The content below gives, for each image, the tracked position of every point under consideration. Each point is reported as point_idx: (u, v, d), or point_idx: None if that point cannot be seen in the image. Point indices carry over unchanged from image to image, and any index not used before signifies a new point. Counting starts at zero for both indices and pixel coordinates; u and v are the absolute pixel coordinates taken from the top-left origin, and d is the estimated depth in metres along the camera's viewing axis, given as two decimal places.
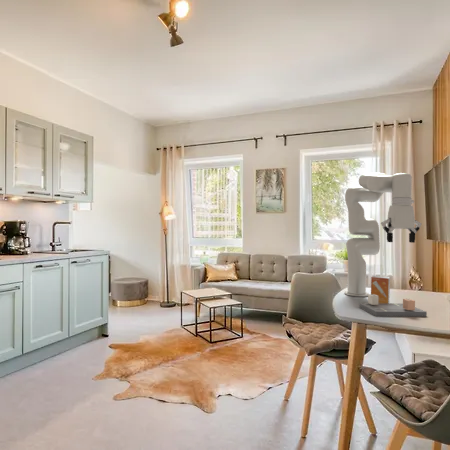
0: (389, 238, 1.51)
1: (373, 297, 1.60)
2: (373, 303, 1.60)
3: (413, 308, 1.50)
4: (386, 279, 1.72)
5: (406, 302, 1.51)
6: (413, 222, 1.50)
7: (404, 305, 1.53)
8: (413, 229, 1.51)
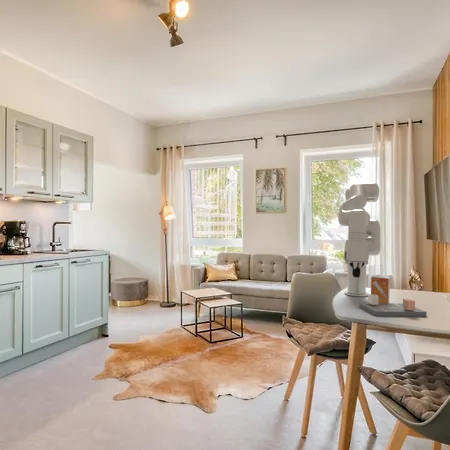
0: (354, 273, 1.60)
1: (373, 297, 1.60)
2: (373, 303, 1.60)
3: (413, 308, 1.50)
4: (386, 279, 1.72)
5: (406, 302, 1.51)
6: (367, 256, 1.59)
7: (404, 305, 1.53)
8: (360, 264, 1.60)
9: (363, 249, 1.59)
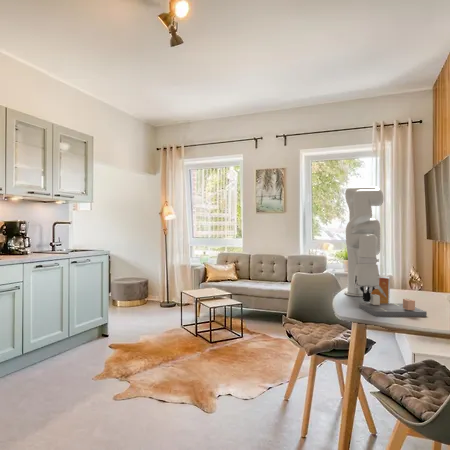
0: (364, 298, 1.61)
1: (374, 297, 1.60)
2: (374, 303, 1.60)
3: (413, 308, 1.50)
4: (386, 279, 1.72)
5: (406, 302, 1.51)
6: (378, 280, 1.60)
7: (404, 305, 1.53)
8: (371, 288, 1.60)
9: (373, 274, 1.59)
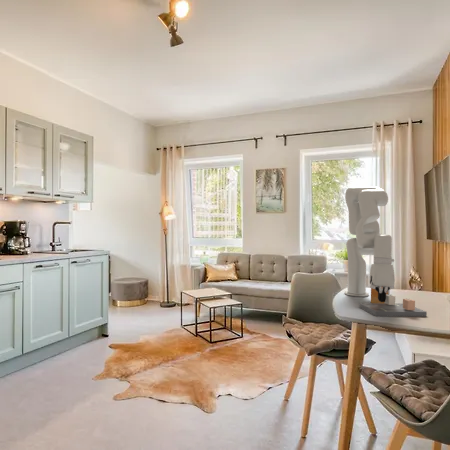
0: (380, 298, 1.61)
1: (390, 297, 1.60)
2: (390, 303, 1.60)
3: (413, 308, 1.50)
4: None
5: (406, 302, 1.51)
6: (393, 280, 1.60)
7: (404, 305, 1.53)
8: (386, 289, 1.61)
9: (389, 274, 1.60)
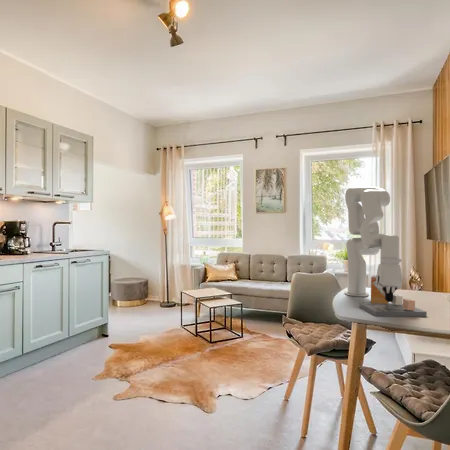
0: (387, 298, 1.61)
1: (397, 297, 1.60)
2: (397, 303, 1.60)
3: (413, 308, 1.50)
4: None
5: (406, 302, 1.51)
6: (400, 280, 1.60)
7: (404, 305, 1.53)
8: (393, 289, 1.61)
9: (396, 274, 1.60)
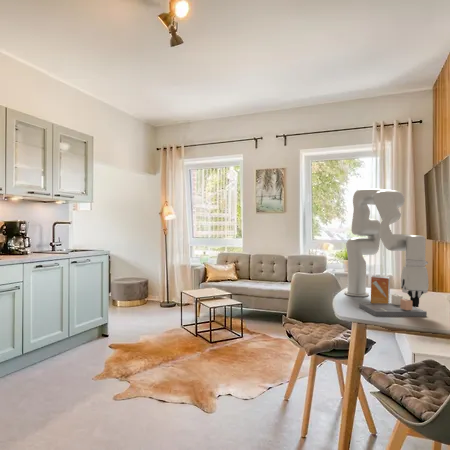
0: (413, 303, 1.51)
1: (397, 297, 1.60)
2: (397, 303, 1.60)
3: (410, 308, 1.50)
4: (386, 279, 1.72)
5: (403, 302, 1.51)
6: (427, 284, 1.51)
7: (401, 305, 1.53)
8: (419, 293, 1.51)
9: (423, 277, 1.50)
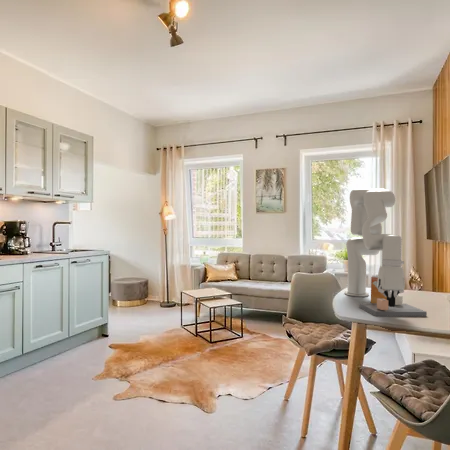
0: (389, 302, 1.51)
1: (397, 297, 1.60)
2: (397, 303, 1.60)
3: (386, 308, 1.50)
4: None
5: (379, 302, 1.51)
6: (403, 284, 1.50)
7: (378, 305, 1.52)
8: (395, 293, 1.51)
9: (399, 277, 1.50)
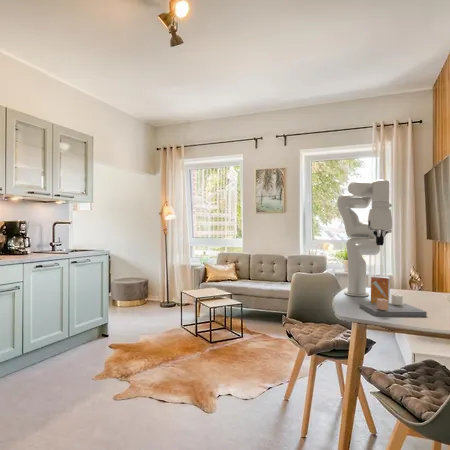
0: (378, 241, 1.66)
1: (397, 297, 1.60)
2: (397, 303, 1.60)
3: (386, 308, 1.50)
4: (386, 279, 1.72)
5: (379, 302, 1.51)
6: (391, 224, 1.65)
7: (378, 305, 1.52)
8: (384, 232, 1.65)
9: (387, 218, 1.64)
